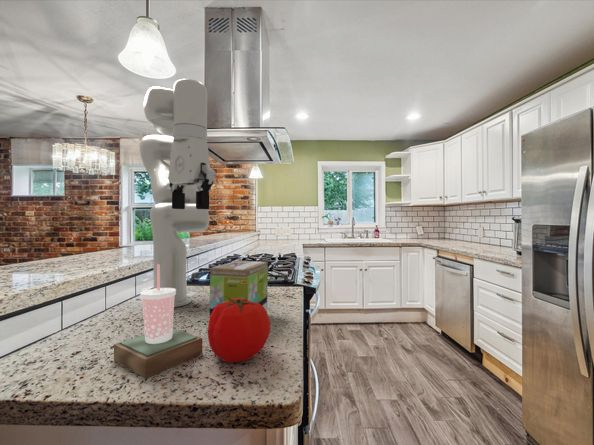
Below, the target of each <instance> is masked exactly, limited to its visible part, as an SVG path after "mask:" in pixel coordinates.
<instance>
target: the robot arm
mask: <svg viewBox="0 0 594 445" xmlns="http://www.w3.org/2000/svg"><path fill="white" fill-rule="evenodd" d="M172 87H173V89H171V88H167V87H161V86H152V87H149V88H148V89H147V91H146V94H145V96H144V100H143V111H144V115H145V118H146V120H147V122H149V123H151V124H152V125H153V127H154V129H155V130H156V131H157V132H158V133H160V134H161V135H160V134H150V135H146V136H144V137H142V138H141V140H140V144H139V151H140V158H141V161H142V164H143V166H144V168H145V170H146V172H147V173H148V175H149V180H150V187H151V193H152V199H153V202H154V205H153V206H152V207H151V208H150V211H149V221H150V226H151V233H152V242H153V243H152V244H153V246H152V249H153V250H152V251H153V252H152V253H153V288H152V289H155V288H157V264H160V288H175V289H176V294H175V297H174V308H178V307H179V308H180V307H182V306H186V305H188V304H190V303H191V302H192V300H193V297H192V296H190V295H187V289H188V288H187V283H188V282H187V281H188V280H187V246H186V243H185V241H184V240H183V239H182V238H181V237H180V236H179V235H178V234H183V233H201V232H205V231H206V230H207V229H208V227H209V226H210V214H209V209H210V192H211V191H212V187H213V185H214V180H215V177H216V173H217V172H216V170H214V169H213V168H211V167H210V154H209V146H208V89H207V88H206V86H205V84H203V83H202V82H200V81H198V80H195V79H192V78H191V79H190V78H182V79H178V80H176V81H175V82H174V83H173V86H172ZM166 161H167V162H166ZM168 162H169V164H168Z"/></svg>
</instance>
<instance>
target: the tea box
mask: <svg viewBox="0 0 594 445" xmlns="http://www.w3.org/2000/svg"><path fill="white" fill-rule="evenodd" d="M268 264H269V263H268V261H255V260H254V261H253V260H252V261H251V260H250V261H247V260H245V261H244V260H235V261H232V262H231V261H230V262H227V263H224V264H220V265H217V266H213V267H210V274H209V276H210V277H209V278H210V279H209V317H208V318H210V315H211V313H212V311H213V310H214V308H215V307H216V306H217V305H218V304H220V303H225V302H228V301H229V299H228V298H227V297H229V298H230V299H234V298H239V299H245V298H246V300H249V301H251V302H259V304H260V305H262V306H263V307H264V308H265V310H266V311H267V312H268V284H269V282H268V276H269V275H268V274H269V272H268V271H269V267H268ZM226 296H227V297H226Z"/></svg>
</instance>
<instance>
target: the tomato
mask: <svg viewBox="0 0 594 445" xmlns="http://www.w3.org/2000/svg"><path fill="white" fill-rule="evenodd" d="M226 297H227V296H226ZM227 298H228V299H229V301H228V302H225V303H220V304H218V305H217V306H216V307H215V308H214V310H213V311H212V313H211V315H210V314H209V315H210V318H209V317H208V318H209V319H208V324H207V338H208V343H209V347H210V349H211V350H212V352H213V353H214V355H215V356H216V357H217V358H218V359H220V360H222V361H225V362H226V363H231V364H232V363H238V362H239V363H240V362H245V361H247V360H250V359H252V358H254V357H255V356H256V355H257V354H259V353H260V352H261V351H262V350H263V349H264V347H265V345H266V343H267V341H268V340H269V339H268V338H269V337H270V334H271V320H270V316H269V314H268V310H267V311H266V310H265V308H264V307H263V306H262V305H260V304H259V302H251V301H249V300H246V298H245V299H239V298H234V299H230V298H229V297H227Z"/></svg>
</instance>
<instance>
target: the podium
mask: <svg viewBox="0 0 594 445" xmlns="http://www.w3.org/2000/svg"><path fill="white" fill-rule="evenodd" d="M200 355H203V337H201V336H197V335H195V334H192V333H190V332H189V333H188V332H185V331H184V330H183V331H182V330H180V329H178V328H174V327H173V333H172V338H171V339H170V340H169V341H166V342H163V343H157V344H149V343H146V341H145V333H144V334H142V335H138V336H135V337H132V338H129V339H125V340H122V341H120V342H117V343H114V344H113V361H114V362H115V363H117V364H119V365H121V366H123V367H125V368H126V369H127V370H130V371H132V372H134V373H135V374H137V375H139V376H141V377H142V378H144V379H147V378H150V377H152V376H155V375H157V374H159V373H161V372H164V371H166V370H168V369H170V368H172V367H176V366H177V365H179V364H183V363H184V362H186V361H189V360H191V359H193V358H195V357H198V356H200Z"/></svg>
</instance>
